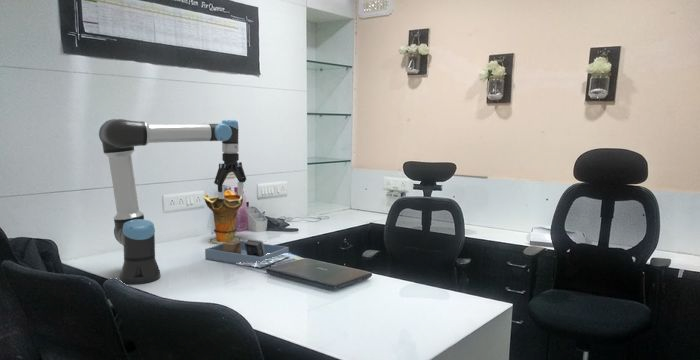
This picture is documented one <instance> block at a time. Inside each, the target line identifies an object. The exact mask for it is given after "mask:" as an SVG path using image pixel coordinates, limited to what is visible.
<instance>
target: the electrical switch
mask: <svg viewBox="0 0 700 360" xmlns="http://www.w3.org/2000/svg"><path fill="white" fill-rule="evenodd" d="M263 244H264V241H263V240H260V239H255V238H254V239H253V238H247V242H246V243H245V248H246V252H247V255H250V256H257V257H262V256H264V255H266V254H265V249H264V245H263Z"/></svg>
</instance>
